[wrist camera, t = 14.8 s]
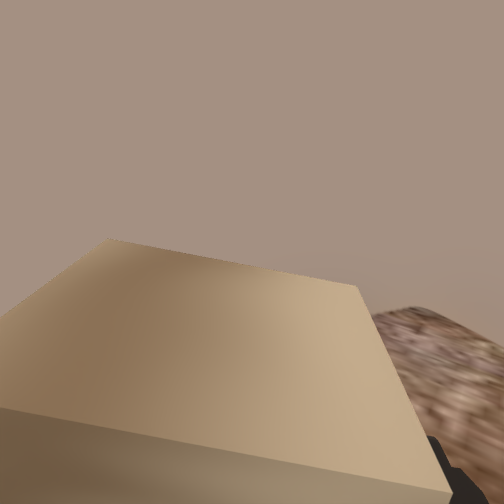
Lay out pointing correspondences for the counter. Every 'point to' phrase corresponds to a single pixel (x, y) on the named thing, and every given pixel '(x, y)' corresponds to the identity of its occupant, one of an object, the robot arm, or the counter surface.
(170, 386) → the maple peg
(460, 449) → the counter surface
